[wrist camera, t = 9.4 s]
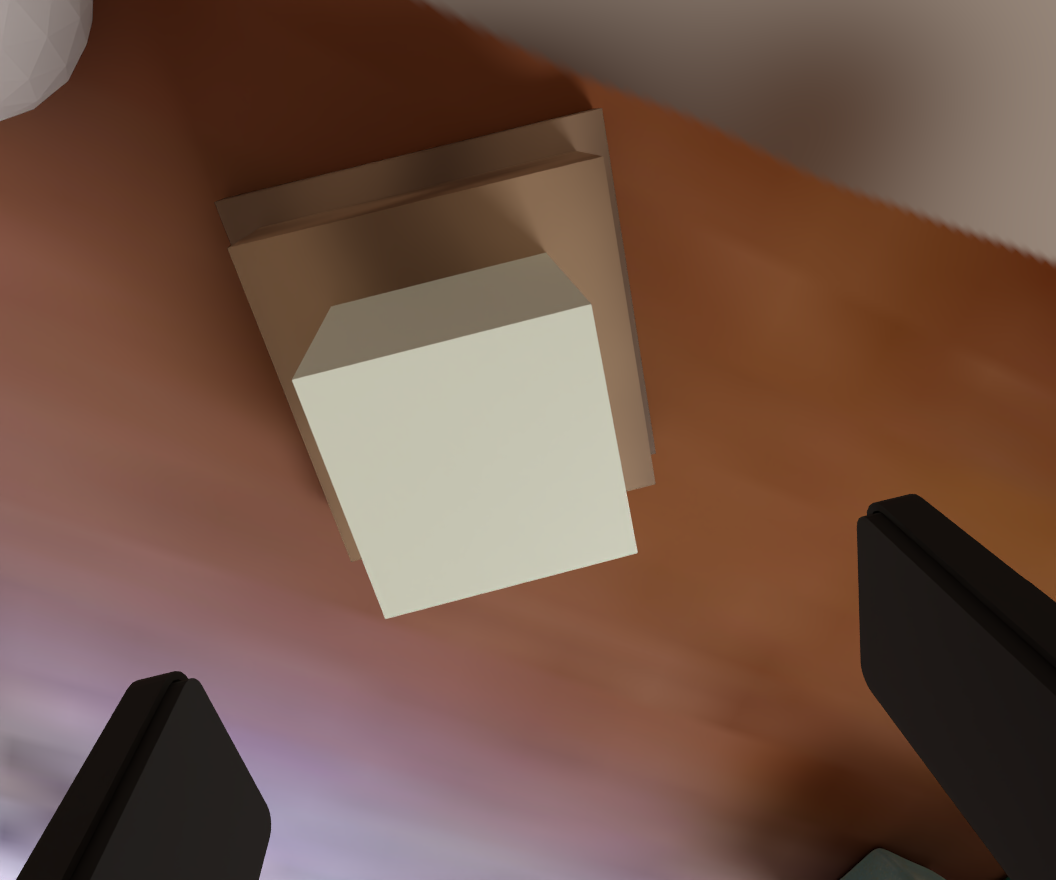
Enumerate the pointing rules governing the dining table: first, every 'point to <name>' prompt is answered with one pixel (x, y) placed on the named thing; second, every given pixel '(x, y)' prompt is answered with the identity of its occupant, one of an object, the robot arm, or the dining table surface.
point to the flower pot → (889, 868)
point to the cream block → (468, 433)
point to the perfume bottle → (39, 49)
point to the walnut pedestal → (445, 251)
